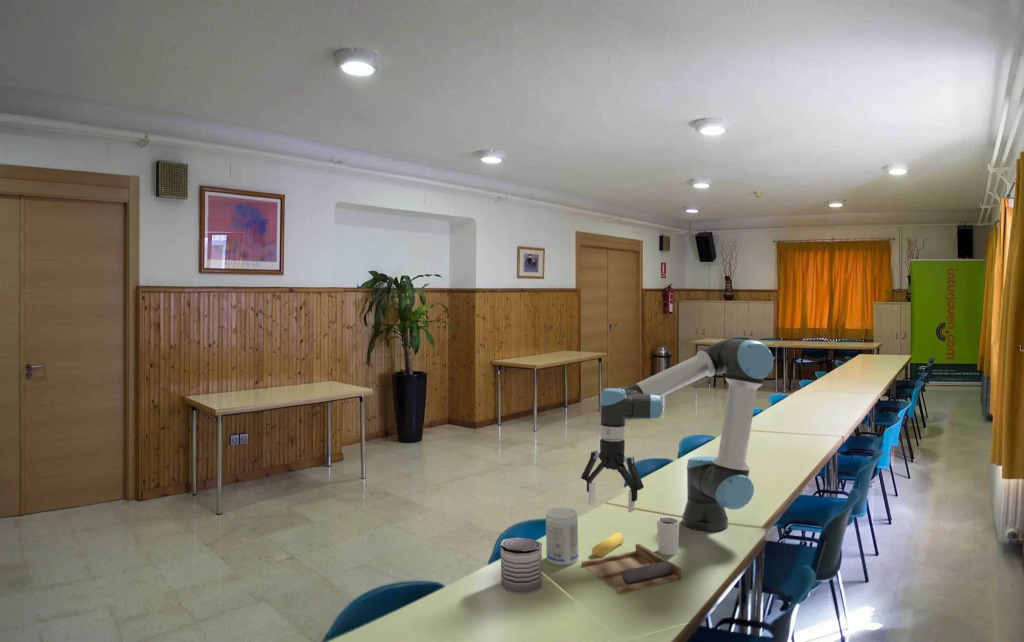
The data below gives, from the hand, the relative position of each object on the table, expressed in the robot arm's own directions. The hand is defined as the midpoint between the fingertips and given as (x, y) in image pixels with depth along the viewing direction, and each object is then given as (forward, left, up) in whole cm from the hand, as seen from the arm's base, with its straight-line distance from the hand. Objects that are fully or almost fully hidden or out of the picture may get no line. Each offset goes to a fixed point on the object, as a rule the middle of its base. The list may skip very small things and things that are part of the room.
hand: (611, 507), depth 201 cm
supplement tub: (+17, 0, -14) cm, 22 cm away
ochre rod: (0, 0, -14) cm, 14 cm away
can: (+35, +10, -14) cm, 39 cm away
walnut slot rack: (+4, +16, -14) cm, 22 cm away
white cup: (-15, +9, -14) cm, 22 cm away
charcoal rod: (+3, +22, -13) cm, 26 cm away
